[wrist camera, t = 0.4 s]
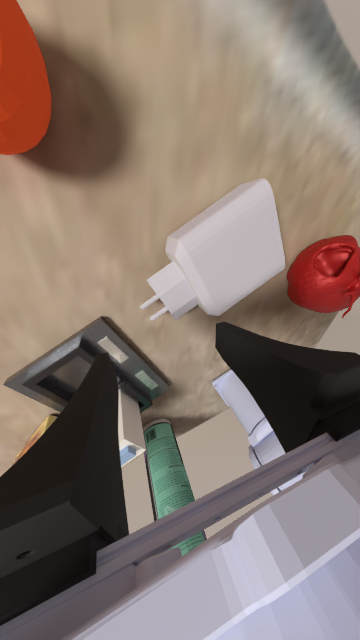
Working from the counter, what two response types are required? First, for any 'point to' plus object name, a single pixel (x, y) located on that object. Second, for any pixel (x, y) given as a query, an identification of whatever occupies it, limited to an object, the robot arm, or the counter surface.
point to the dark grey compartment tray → (87, 368)
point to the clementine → (21, 83)
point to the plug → (129, 428)
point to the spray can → (167, 476)
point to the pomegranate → (326, 275)
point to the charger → (221, 254)
